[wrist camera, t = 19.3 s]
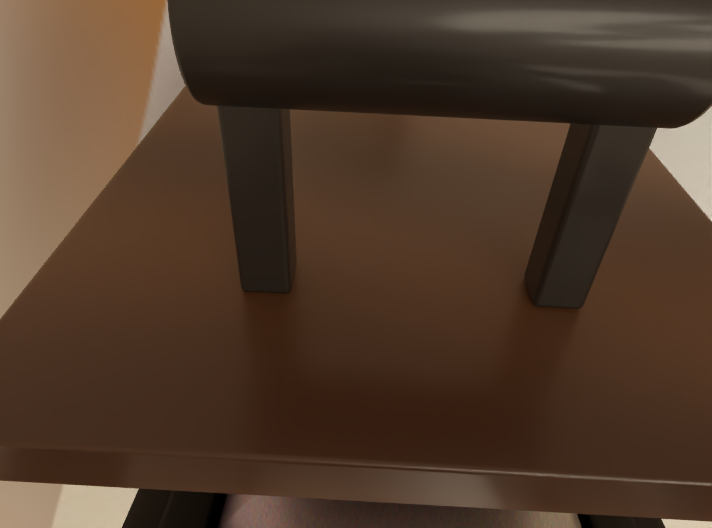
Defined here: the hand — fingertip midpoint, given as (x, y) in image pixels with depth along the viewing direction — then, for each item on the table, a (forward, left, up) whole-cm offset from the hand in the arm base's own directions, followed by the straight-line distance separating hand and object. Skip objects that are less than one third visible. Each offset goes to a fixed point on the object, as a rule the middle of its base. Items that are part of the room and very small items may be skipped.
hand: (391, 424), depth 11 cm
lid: (-4, 0, -1) cm, 4 cm away
